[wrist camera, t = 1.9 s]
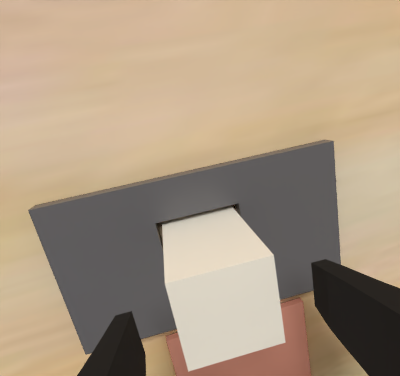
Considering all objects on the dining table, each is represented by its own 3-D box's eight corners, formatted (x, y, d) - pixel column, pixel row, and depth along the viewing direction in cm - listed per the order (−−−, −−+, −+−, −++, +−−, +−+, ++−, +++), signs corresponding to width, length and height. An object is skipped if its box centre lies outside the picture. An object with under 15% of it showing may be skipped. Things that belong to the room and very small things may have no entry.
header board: (89, 343, 16) (85, 354, 15) (35, 205, 14) (28, 210, 13) (333, 275, 18) (341, 282, 17) (324, 139, 15) (333, 140, 14)
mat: (194, 435, 19) (195, 441, 19) (166, 335, 17) (166, 340, 16) (310, 397, 20) (313, 402, 20) (299, 297, 18) (303, 301, 17)
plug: (177, 281, 16) (188, 371, 10) (162, 221, 15) (164, 283, 9) (240, 265, 16) (285, 342, 11) (230, 204, 15) (273, 255, 10)
